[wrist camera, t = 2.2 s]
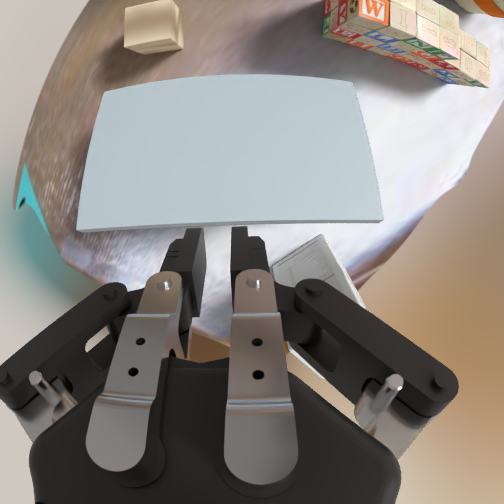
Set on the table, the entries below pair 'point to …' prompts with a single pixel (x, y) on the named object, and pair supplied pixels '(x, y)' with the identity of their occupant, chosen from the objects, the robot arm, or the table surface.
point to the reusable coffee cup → (483, 7)
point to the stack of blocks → (411, 37)
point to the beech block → (153, 27)
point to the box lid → (229, 155)
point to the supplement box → (315, 273)
